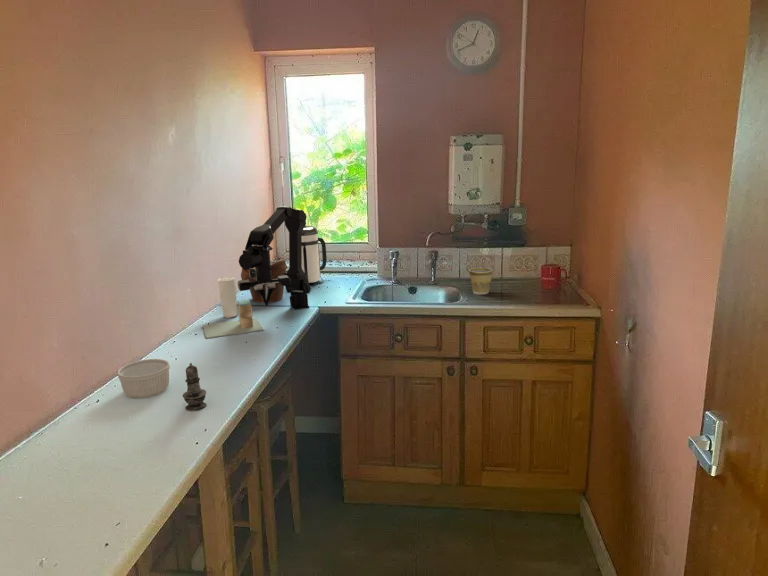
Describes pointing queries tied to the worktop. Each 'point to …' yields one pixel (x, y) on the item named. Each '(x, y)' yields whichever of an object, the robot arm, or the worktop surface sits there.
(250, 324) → the beech block
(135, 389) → the ramekin
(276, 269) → the brown round container
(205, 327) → the rubber mat
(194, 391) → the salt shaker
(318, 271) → the coffee press
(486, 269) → the ceramic cup
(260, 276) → the robot arm
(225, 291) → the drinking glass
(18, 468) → the worktop surface
